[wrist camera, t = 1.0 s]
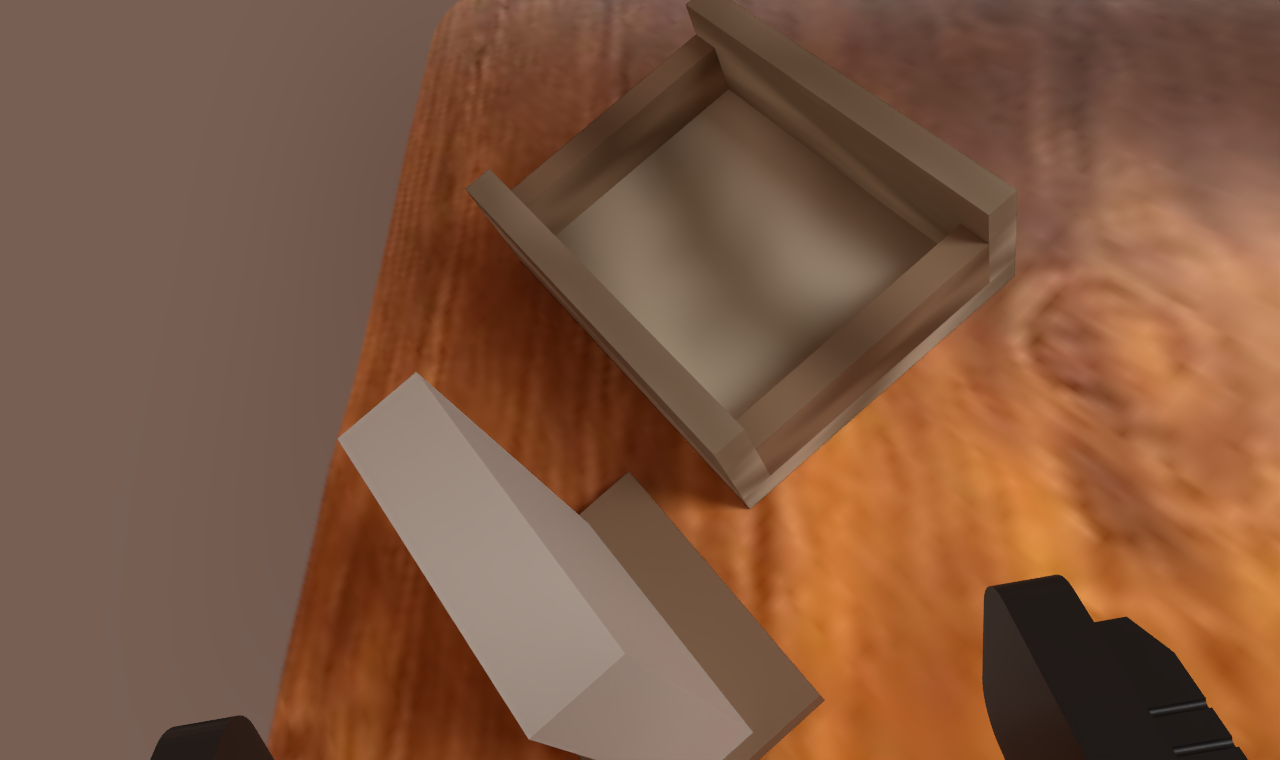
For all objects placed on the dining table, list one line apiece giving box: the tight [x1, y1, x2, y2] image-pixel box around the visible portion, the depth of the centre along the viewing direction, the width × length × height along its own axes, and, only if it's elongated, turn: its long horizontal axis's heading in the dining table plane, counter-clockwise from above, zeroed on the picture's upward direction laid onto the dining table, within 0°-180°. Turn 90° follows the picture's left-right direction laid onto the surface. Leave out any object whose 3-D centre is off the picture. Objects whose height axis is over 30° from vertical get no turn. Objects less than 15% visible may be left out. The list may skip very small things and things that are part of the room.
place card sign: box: [338, 372, 825, 760], centre depth 27 cm, size 7×10×13 cm
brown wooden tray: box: [466, 0, 1018, 509], centre depth 36 cm, size 12×15×5 cm
